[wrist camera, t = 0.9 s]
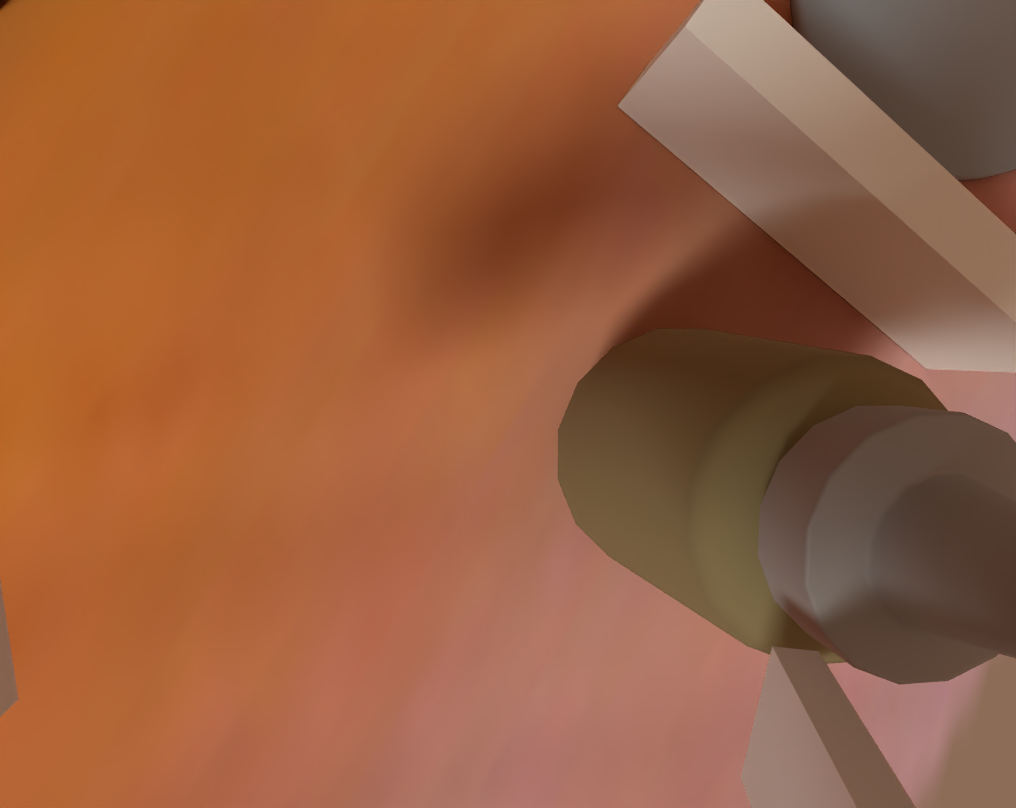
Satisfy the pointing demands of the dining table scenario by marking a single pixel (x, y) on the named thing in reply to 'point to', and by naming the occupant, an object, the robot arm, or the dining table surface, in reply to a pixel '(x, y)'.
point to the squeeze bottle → (799, 499)
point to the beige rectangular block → (834, 182)
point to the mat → (929, 71)
